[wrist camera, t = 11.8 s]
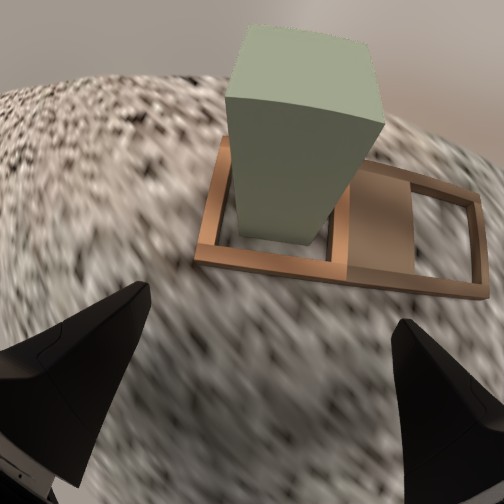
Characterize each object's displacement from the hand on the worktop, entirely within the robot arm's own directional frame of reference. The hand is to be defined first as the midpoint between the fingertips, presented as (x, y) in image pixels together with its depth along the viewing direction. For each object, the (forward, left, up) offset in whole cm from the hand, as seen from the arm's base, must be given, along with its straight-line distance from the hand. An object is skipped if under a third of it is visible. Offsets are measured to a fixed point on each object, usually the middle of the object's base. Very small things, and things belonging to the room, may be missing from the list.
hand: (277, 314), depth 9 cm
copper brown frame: (+7, -6, -8) cm, 13 cm away
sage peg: (+7, 0, -8) cm, 11 cm away
